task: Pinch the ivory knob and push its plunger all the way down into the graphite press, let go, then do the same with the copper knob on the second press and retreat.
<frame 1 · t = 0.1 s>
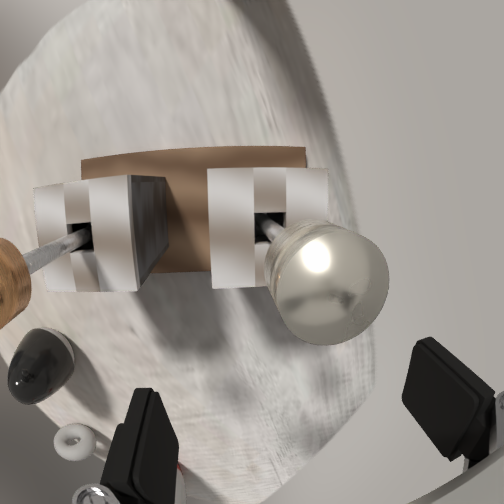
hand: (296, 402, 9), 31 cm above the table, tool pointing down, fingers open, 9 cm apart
copper plunger: (63, 245, 18), point 20 cm above the table, slide at 0.0 cm
press station: (190, 209, 38), on the table
pump dispenser: (57, 344, 41), on the table
donut: (81, 425, 45), on the table
ivory plunger: (278, 235, 19), point 20 cm above the table, slide at 0.0 cm
citrus juicer: (157, 465, 50), on the table
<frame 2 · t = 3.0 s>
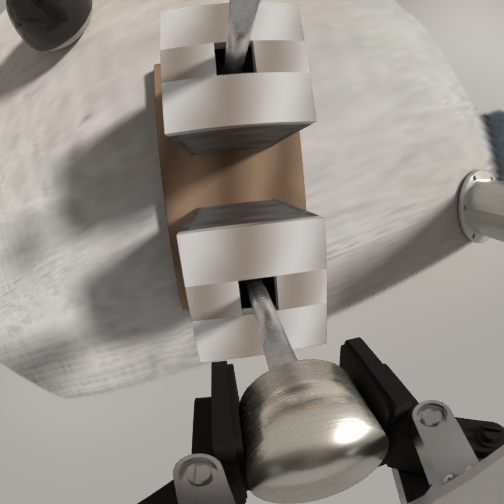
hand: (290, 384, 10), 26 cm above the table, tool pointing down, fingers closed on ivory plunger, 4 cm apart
copper plunger: (238, 37, 12), point 20 cm above the table, slide at 0.0 cm
press station: (232, 176, 33), on the table
pump dispenser: (70, 29, 25), on the table
ivory plunger: (266, 315, 16), point 20 cm above the table, slide at 0.0 cm, touching gripper
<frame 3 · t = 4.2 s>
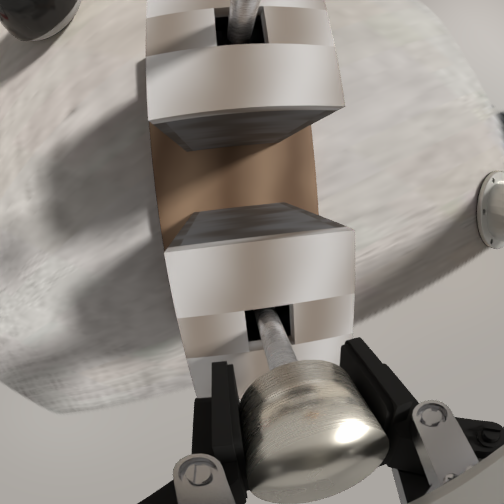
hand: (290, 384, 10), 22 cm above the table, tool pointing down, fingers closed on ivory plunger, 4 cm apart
press station: (235, 176, 29), on the table
pump dispenser: (58, 18, 21), on the table
ivory plunger: (266, 315, 16), point 16 cm above the table, slide at 4.3 cm, touching gripper
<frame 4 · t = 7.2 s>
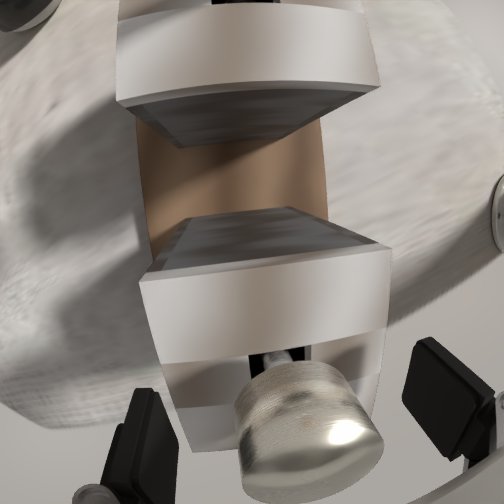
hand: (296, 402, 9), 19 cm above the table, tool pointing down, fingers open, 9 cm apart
press station: (233, 176, 26), on the table
pump dispenser: (43, 7, 17), on the table
ivory plunger: (262, 316, 16), point 12 cm above the table, slide at 8.1 cm
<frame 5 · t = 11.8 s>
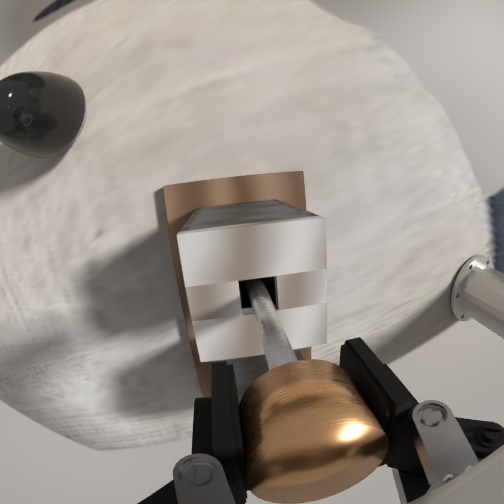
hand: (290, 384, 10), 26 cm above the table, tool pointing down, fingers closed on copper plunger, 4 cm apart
copper plunger: (266, 315, 16), point 20 cm above the table, slide at 0.0 cm, touching gripper
press station: (246, 297, 37), on the table
pump dispenser: (65, 121, 29), on the table
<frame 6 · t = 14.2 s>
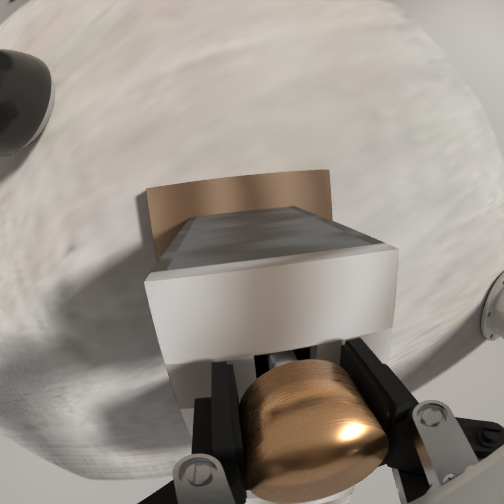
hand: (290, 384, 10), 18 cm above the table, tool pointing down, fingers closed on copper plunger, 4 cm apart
copper plunger: (266, 315, 16), point 12 cm above the table, slide at 8.2 cm, touching gripper
press station: (254, 328, 29), on the table
pump dispenser: (32, 111, 21), on the table
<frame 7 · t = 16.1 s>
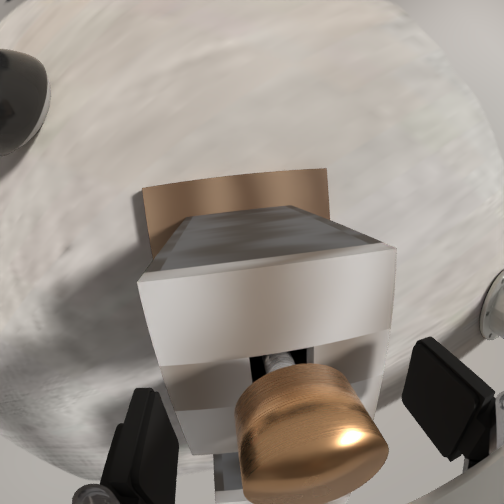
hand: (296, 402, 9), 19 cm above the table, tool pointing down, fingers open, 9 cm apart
copper plunger: (263, 317, 16), point 12 cm above the table, slide at 8.1 cm
press station: (251, 328, 29), on the table
pump dispenser: (28, 111, 21), on the table
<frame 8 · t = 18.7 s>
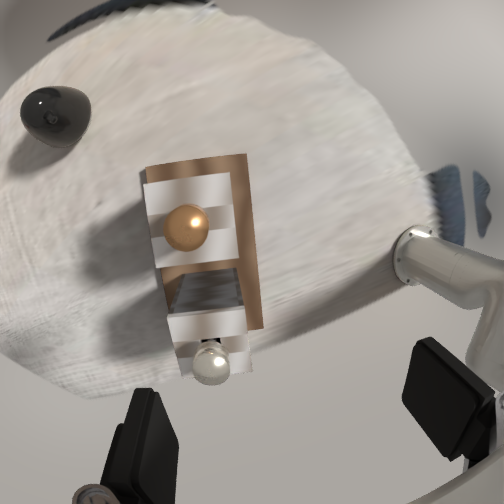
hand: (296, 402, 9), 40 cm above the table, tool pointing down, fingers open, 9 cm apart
copper plunger: (194, 215, 35), point 12 cm above the table, slide at 8.1 cm
press station: (206, 250, 49), on the table
pump dispenser: (75, 121, 40), on the table
ivory plunger: (211, 326, 39), point 12 cm above the table, slide at 8.1 cm
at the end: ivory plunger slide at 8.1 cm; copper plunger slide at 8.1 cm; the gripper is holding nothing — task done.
